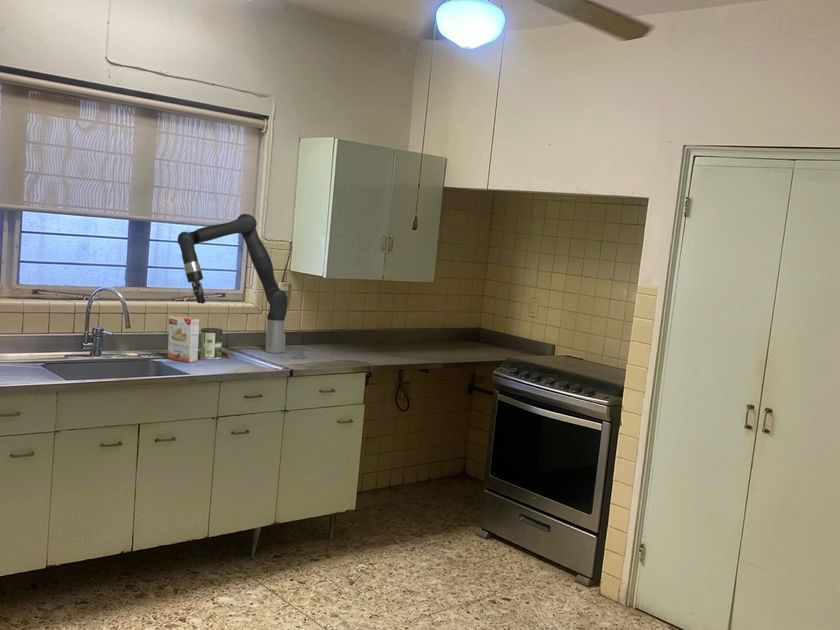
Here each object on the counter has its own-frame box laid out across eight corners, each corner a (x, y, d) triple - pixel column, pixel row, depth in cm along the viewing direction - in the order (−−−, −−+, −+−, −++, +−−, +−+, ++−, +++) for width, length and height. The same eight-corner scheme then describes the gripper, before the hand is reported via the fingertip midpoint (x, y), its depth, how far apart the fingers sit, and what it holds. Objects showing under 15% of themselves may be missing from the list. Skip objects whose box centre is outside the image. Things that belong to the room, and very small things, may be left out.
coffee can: (217, 355, 396) (219, 327, 395) (224, 359, 388) (225, 330, 386) (197, 355, 391) (198, 327, 389) (203, 359, 382) (204, 330, 381)
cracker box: (166, 359, 377) (168, 315, 375) (176, 357, 382) (177, 314, 380) (188, 363, 371) (190, 319, 368) (198, 361, 376) (199, 318, 374)
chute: (220, 354, 398) (220, 350, 398) (230, 358, 391) (230, 353, 391) (190, 356, 388) (191, 351, 387) (200, 360, 380) (200, 355, 380)
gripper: (198, 268, 387) (206, 301, 387) (203, 270, 401) (211, 301, 401) (183, 272, 386) (191, 304, 386) (188, 274, 400) (196, 305, 400)
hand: (201, 303), depth 394 cm, fingers open, 8 cm apart
